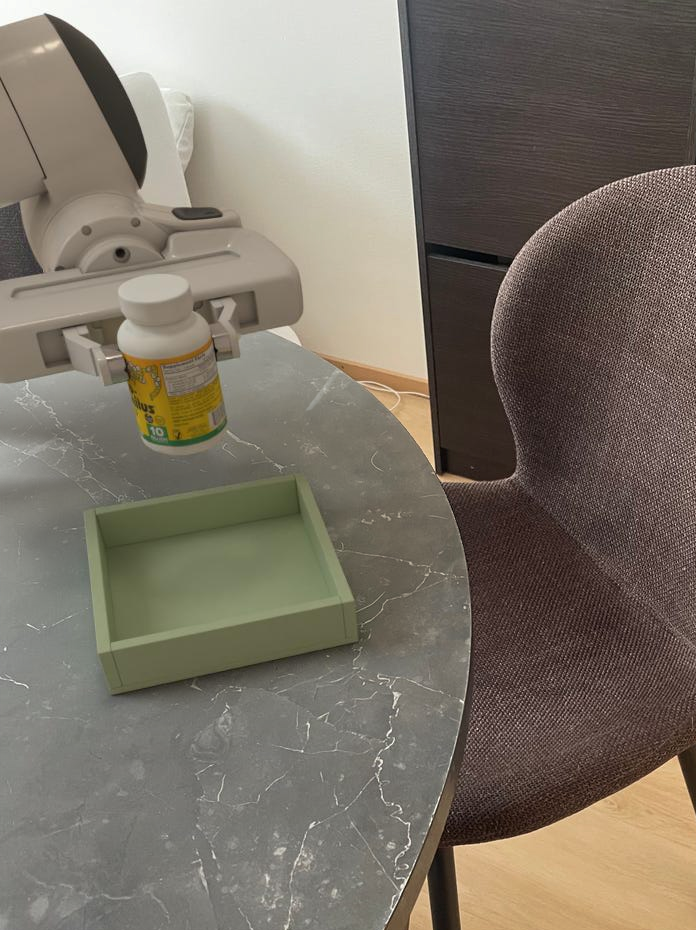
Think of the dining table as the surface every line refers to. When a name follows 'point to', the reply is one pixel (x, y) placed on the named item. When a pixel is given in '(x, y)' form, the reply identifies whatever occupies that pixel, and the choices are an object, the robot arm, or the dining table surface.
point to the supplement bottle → (170, 366)
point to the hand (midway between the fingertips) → (172, 360)
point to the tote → (214, 582)
